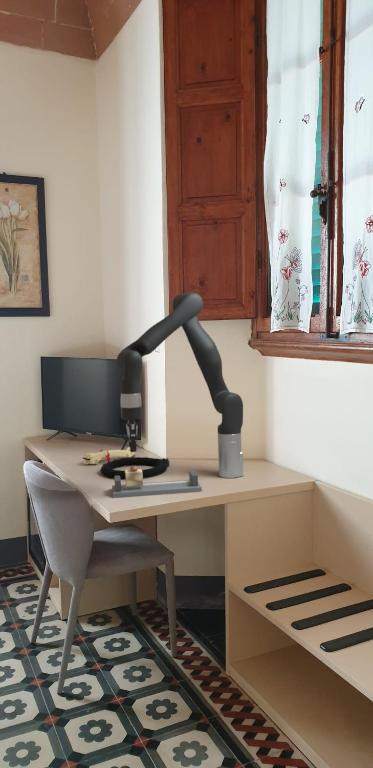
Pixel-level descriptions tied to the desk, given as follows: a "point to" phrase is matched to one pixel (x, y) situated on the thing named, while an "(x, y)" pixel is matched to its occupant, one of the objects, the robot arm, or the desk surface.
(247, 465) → the desk surface
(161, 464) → the cable lock
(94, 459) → the cat figure
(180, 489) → the rail board
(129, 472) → the keeper
